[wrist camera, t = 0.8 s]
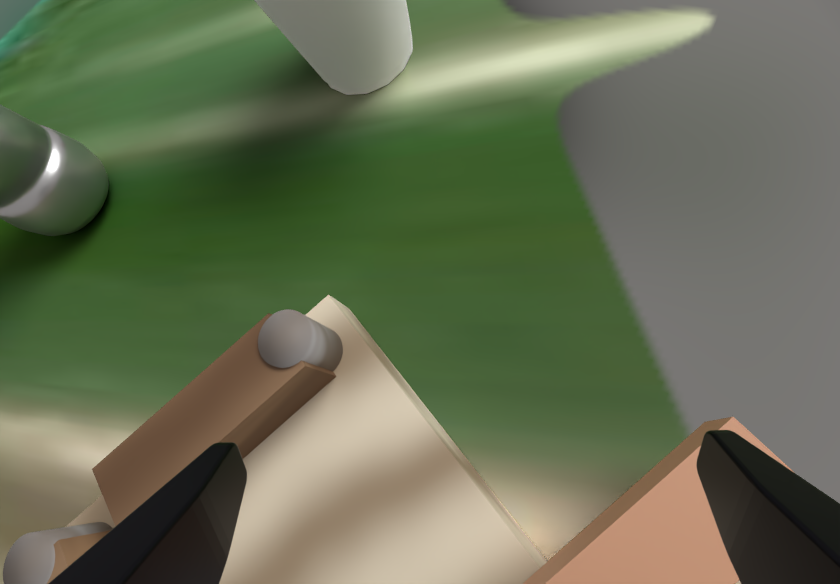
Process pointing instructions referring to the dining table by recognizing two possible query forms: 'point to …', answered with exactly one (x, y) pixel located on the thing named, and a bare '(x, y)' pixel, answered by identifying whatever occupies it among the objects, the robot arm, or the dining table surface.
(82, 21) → the dining table surface
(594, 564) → the hinged leg
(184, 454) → the flat cream base board
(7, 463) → the dining table surface
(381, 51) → the foam cup
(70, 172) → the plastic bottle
